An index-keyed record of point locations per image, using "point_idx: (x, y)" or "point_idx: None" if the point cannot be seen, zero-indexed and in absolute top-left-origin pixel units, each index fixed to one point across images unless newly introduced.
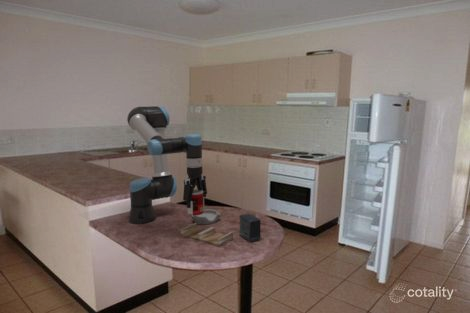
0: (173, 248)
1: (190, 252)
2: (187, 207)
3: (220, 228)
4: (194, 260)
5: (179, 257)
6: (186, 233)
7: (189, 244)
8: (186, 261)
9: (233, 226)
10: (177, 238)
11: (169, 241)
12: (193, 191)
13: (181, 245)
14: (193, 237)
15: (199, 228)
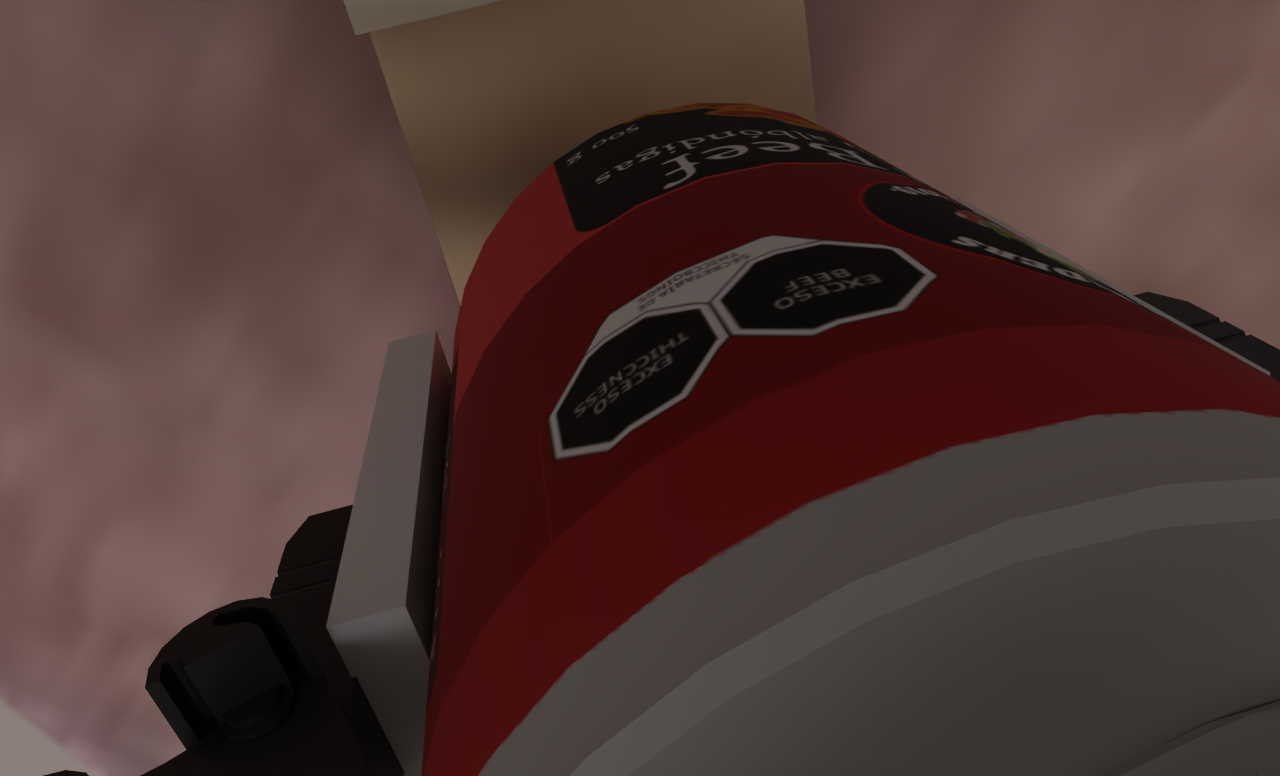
0: (19, 348)
1: (201, 584)
2: (310, 548)
3: (1059, 191)
4: (150, 752)
5: (5, 617)
6: (451, 52)
7: (311, 380)
8: (51, 729)
9: (1225, 264)
10: (247, 30)
11: (48, 45)
12: (1068, 742)
13: (184, 335)
14: (456, 290)
15: (787, 15)
